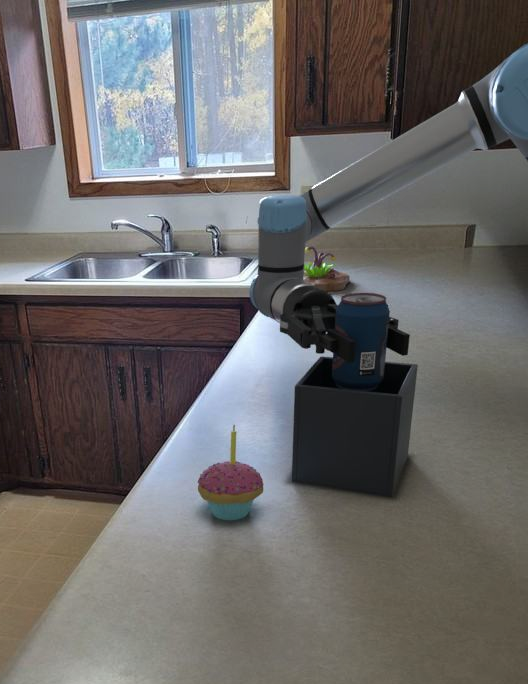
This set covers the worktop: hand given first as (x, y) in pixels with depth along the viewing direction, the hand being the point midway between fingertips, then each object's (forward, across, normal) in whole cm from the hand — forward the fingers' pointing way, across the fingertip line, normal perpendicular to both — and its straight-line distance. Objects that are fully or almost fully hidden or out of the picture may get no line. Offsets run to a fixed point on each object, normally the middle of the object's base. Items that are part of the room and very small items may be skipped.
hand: (379, 348), depth 95 cm
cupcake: (+1, +21, -20) cm, 29 cm away
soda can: (-5, 0, -7) cm, 8 cm away
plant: (-125, -50, -20) cm, 136 cm away
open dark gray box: (-5, 0, -20) cm, 20 cm away
